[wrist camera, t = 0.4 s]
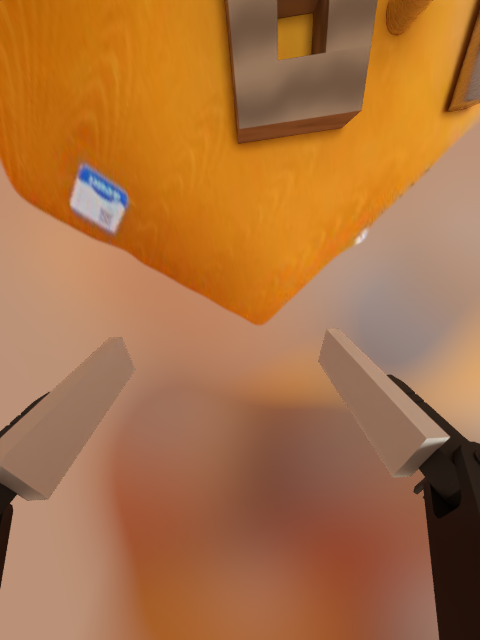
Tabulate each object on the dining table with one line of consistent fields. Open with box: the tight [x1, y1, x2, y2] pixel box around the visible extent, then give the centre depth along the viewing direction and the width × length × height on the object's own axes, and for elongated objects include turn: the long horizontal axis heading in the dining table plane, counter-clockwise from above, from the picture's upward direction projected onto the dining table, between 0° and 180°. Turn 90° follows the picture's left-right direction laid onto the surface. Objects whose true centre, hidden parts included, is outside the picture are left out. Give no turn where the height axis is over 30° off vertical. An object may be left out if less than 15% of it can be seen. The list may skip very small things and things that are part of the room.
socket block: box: [225, 0, 377, 143], centre depth 21 cm, size 16×16×4 cm
